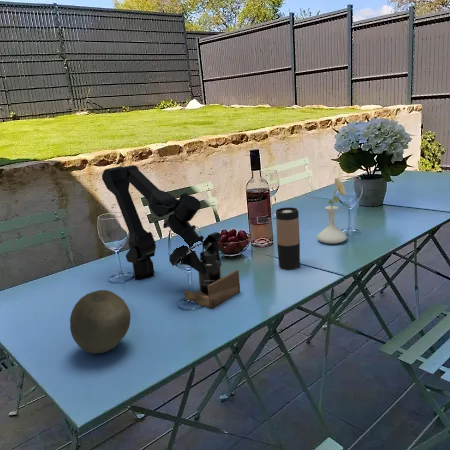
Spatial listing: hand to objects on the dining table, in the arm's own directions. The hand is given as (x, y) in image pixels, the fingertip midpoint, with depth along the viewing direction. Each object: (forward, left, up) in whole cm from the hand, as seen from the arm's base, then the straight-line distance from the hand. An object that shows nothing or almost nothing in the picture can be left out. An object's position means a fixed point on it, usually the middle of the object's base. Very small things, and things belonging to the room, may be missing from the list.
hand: (212, 270), depth 128 cm
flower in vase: (+57, +26, -9) cm, 64 cm away
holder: (-1, +1, -9) cm, 9 cm away
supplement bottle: (-1, +1, -7) cm, 7 cm away
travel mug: (+30, +11, -9) cm, 34 cm away
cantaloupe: (-34, -15, -9) cm, 38 cm away
